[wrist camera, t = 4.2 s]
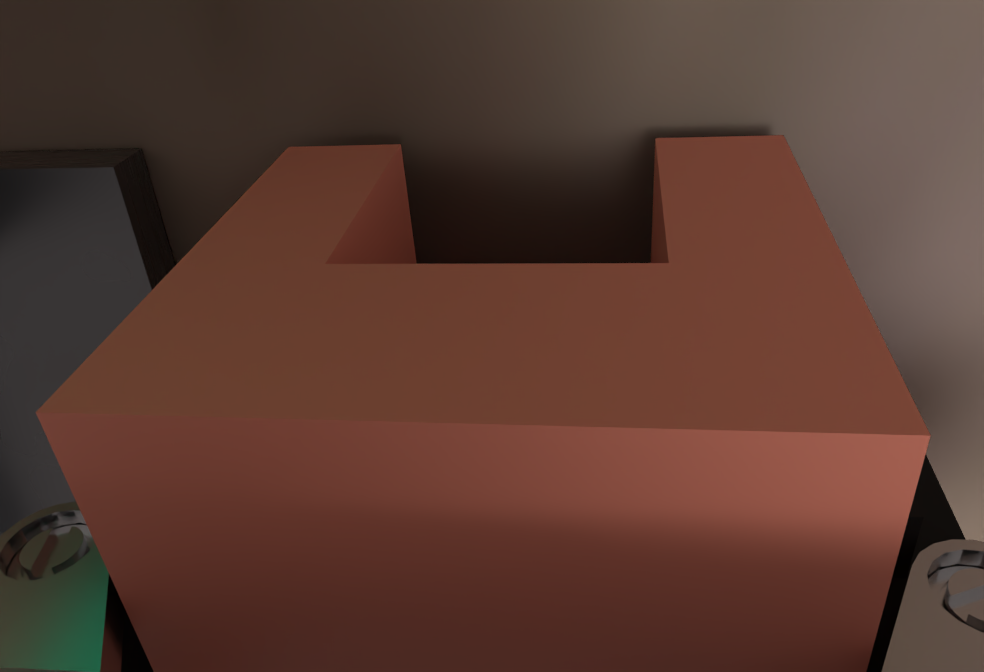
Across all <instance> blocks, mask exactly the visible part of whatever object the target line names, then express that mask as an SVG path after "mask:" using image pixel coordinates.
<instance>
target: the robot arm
mask: <svg viewBox="0 0 984 672" xmlns="http://www.w3.org/2000/svg"><path fill="white" fill-rule="evenodd" d="M0 672H154V671H153V669H152V667H151V665H150V662H149V660H148V658H147V656H146V654H145V651H144V649H143V647H142V645H141V643H140V640H139V638H138V636H137V634H136V632H135V630H134V627H133V625H132V623H131V621H130V619H129V616H128V614H127V612H126V610H125V608H124V605H123V603H122V601H121V599H120V597H119V594H118V592H117V590H116V588H115V586H114V583H113V581H112V579H111V577H110V575H109V572H108V570H107V568H106V566H105V564H104V561H103V559H102V557H101V555H100V553H99V551H98V548H97V546H96V544H95V542H94V540H93V537H92V535H91V533H90V531H89V529H88V526H87V524H86V522H85V520H84V518H83V515H82V513H81V511H80V509H79V507H78V504H77V502H69V503H63V504H57V505H54V506H51V507H48V508H45V509H42V510H39V511H37V512H35V513H33V514H31V515H29V516H27V517H26V518H24V519H22V520H20V521H18V522H17V523H16V524H15V525H13V526H12V527H11V528H9V529H8V530H7V531H5V532H4V533H3V534H2V535H1V536H0ZM866 672H984V542H981V541H977V540H965V537H964V535H963V533H962V531H961V529H960V527H959V525H958V522H957V520H956V518H955V516H954V514H953V512H952V510H951V507H950V505H949V503H948V501H947V499H946V497H945V495H944V492H943V490H942V488H941V486H940V484H939V482H938V480H937V477H936V475H935V473H934V471H933V469H932V467H931V465H930V462H929V460H928V458H927V456H926V455H925V458H924V462H923V466H922V469H921V473H920V477H919V480H918V484H917V488H916V491H915V495H914V499H913V502H912V506H911V510H910V513H909V517H908V521H907V524H906V528H905V532H904V535H903V539H902V543H901V546H900V550H899V554H898V557H897V561H896V565H895V568H894V572H893V576H892V579H891V583H890V587H889V590H888V594H887V598H886V601H885V605H884V609H883V612H882V616H881V620H880V623H879V627H878V631H877V634H876V638H875V642H874V645H873V649H872V653H871V657H870V660H869V664H868V668H867V671H866Z"/></svg>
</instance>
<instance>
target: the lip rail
mask: <svg viewBox="0 0 984 672" xmlns="http://www.w3.org/2000/svg"><path fill="white" fill-rule="evenodd" d="M174 267H175V263H174V260H173V256H172V253H171V250H170V246H169V243H168V239H167V236H166V232H165V229H164V226H163V222H162V219H161V215H160V212H159V209H158V205H157V202H156V198H155V195H154V191H153V188H152V185H151V181H150V178H149V174H148V171H147V167H146V164H145V161H144V157H143V154H142V150H141V149H105V150H60V151H15V152H0V536H1V535H2V534H3V533H4V532H5V531H7V530H8V529H9V528H11V527H12V526H13V525H15V524H16V523H17V522H18V521H20V520H22V519H24V518H26V517H27V516H29V515H31V514H33V513H35V512H37V511H39V510H42V509H45V508H48V507H51V506H54V505H57V504H63V503H69V502H76V500H75V498H74V496H73V493H72V491H71V489H70V487H69V485H68V482H67V480H66V478H65V476H64V474H63V472H62V469H61V467H60V465H59V463H58V461H57V458H56V456H55V454H54V452H53V450H52V447H51V445H50V443H49V441H48V439H47V436H46V434H45V432H44V430H43V428H42V425H41V423H40V421H39V419H38V417H37V414H36V411H37V410H38V409H39V408H40V407H41V406H42V405H43V404H44V403H45V402H46V401H47V400H48V399H49V398H50V397H51V396H52V395H53V394H54V393H55V392H56V390H57V389H58V388H59V387H60V386H61V385H62V384H63V383H64V382H65V381H66V380H67V379H68V378H69V377H70V376H71V375H72V374H73V373H74V372H75V371H76V369H77V368H78V367H79V366H80V365H81V364H82V363H83V362H84V361H85V360H86V359H87V358H88V357H89V356H90V355H91V354H92V353H93V352H94V351H95V350H96V348H97V347H98V346H99V345H100V344H101V343H102V342H103V341H104V340H105V339H106V338H107V337H108V336H109V335H110V334H111V333H112V332H113V331H114V330H115V329H116V327H117V326H118V325H119V324H120V323H121V322H122V321H123V320H124V319H125V318H126V317H127V316H128V315H129V314H130V313H131V312H132V311H133V310H134V309H135V308H136V307H137V305H138V304H139V303H140V302H141V301H142V300H143V299H144V298H145V297H146V296H147V295H148V294H149V293H150V292H151V291H152V290H153V289H154V288H155V287H156V286H157V284H158V283H159V282H160V281H161V280H162V279H163V278H164V277H165V276H166V275H167V274H168V273H169V272H170V271H171V270H172V269H173V268H174Z"/></svg>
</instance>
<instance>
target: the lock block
mask: <svg viewBox="0 0 984 672" xmlns="http://www.w3.org/2000/svg"><path fill="white" fill-rule="evenodd" d="M36 414H37V417H38V419H39V421H40V423H41V425H42V428H43V430H44V432H45V434H46V436H47V439H48V441H49V443H50V445H51V447H52V450H53V452H54V454H55V456H56V458H57V461H58V463H59V465H60V467H61V469H62V472H63V474H64V476H65V478H66V480H67V482H68V485H69V487H70V489H71V491H72V493H73V496H74V498H75V500H76V502H77V504H78V507H79V509H80V511H81V513H82V515H83V518H84V520H85V522H86V524H87V526H88V529H89V531H90V533H91V535H92V537H93V540H94V542H95V544H96V546H97V548H98V551H99V553H100V555H101V557H102V559H103V561H104V564H105V566H106V568H107V570H108V572H109V575H110V577H111V579H112V581H113V583H114V586H115V588H116V590H117V592H118V594H119V597H120V599H121V601H122V603H123V605H124V608H125V610H126V612H127V614H128V616H129V619H130V621H131V623H132V625H133V627H134V630H135V632H136V634H137V636H138V638H139V640H140V643H141V645H142V647H143V649H144V651H145V654H146V656H147V658H148V660H149V662H150V665H151V667H152V669H153V671H154V672H866V671H867V668H868V664H869V660H870V657H871V653H872V649H873V645H874V642H875V638H876V634H877V631H878V627H879V623H880V620H881V616H882V612H883V609H884V605H885V601H886V598H887V594H888V590H889V587H890V583H891V579H892V576H893V572H894V568H895V565H896V561H897V557H898V554H899V550H900V546H901V543H902V539H903V535H904V532H905V528H906V524H907V521H908V517H909V513H910V510H911V506H912V502H913V499H914V495H915V491H916V488H917V484H918V480H919V477H920V473H921V469H922V466H923V462H924V458H925V455H926V451H927V447H928V443H929V440H930V436H931V435H930V433H929V431H928V429H927V427H926V425H925V423H924V421H923V419H922V417H921V415H920V413H919V411H918V409H917V407H916V405H915V403H914V401H913V399H912V397H911V395H910V393H909V390H908V388H907V386H906V384H905V382H904V380H903V378H902V376H901V374H900V372H899V370H898V368H897V366H896V364H895V362H894V360H893V358H892V356H891V354H890V352H889V350H888V348H887V346H886V344H885V342H884V339H883V337H882V335H881V333H880V331H879V329H878V327H877V325H876V323H875V321H874V319H873V317H872V315H871V313H870V311H869V309H868V307H867V305H866V303H865V301H864V299H863V297H862V295H861V293H860V291H859V288H858V286H857V284H856V282H855V280H854V278H853V276H852V274H851V272H850V270H849V268H848V266H847V264H846V262H845V260H844V258H843V256H842V254H841V252H840V250H839V248H838V246H837V244H836V242H835V239H834V237H833V235H832V233H831V231H830V229H829V227H828V225H827V223H826V221H825V219H824V217H823V215H822V213H821V211H820V209H819V207H818V205H817V203H816V201H815V199H814V197H813V195H812V193H811V191H810V188H809V186H808V184H807V182H806V180H805V178H804V176H803V174H802V172H801V170H800V168H799V166H798V164H797V162H796V160H795V158H794V156H793V154H792V152H791V150H790V148H789V146H788V144H787V142H786V140H785V137H784V135H768V136H726V137H684V138H655V162H654V190H653V217H652V244H651V263H526V264H417V263H416V255H415V247H414V240H413V232H412V225H411V217H410V210H409V202H408V194H407V187H406V179H405V172H404V164H403V157H402V149H401V144H388V145H346V146H304V147H288V148H287V149H286V150H285V151H284V152H283V153H282V154H281V155H280V156H279V157H278V159H277V160H276V161H275V162H274V163H273V164H272V165H271V166H270V167H269V168H268V169H267V170H266V171H265V172H264V173H263V174H262V175H261V176H260V177H259V178H258V180H257V181H256V182H255V183H254V184H253V185H252V186H251V187H250V188H249V189H248V190H247V191H246V192H245V193H244V194H243V195H242V196H241V197H240V198H239V199H238V200H237V202H236V203H235V204H234V205H233V206H232V207H231V208H230V209H229V210H228V211H227V212H226V213H225V214H224V215H223V216H222V217H221V218H220V219H219V220H218V221H217V223H216V224H215V225H214V226H213V227H212V228H211V229H210V230H209V231H208V232H207V233H206V234H205V235H204V236H203V237H202V238H201V239H200V240H199V241H198V242H197V244H196V245H195V246H194V247H193V248H192V249H191V250H190V251H189V252H188V253H187V254H186V255H185V256H184V257H183V258H182V259H181V260H180V261H179V262H178V263H177V265H176V266H175V267H174V268H173V269H172V270H171V271H170V272H169V273H168V274H167V275H166V276H165V277H164V278H163V279H162V280H161V281H160V282H159V283H158V284H157V286H156V287H155V288H154V289H153V290H152V291H151V292H150V293H149V294H148V295H147V296H146V297H145V298H144V299H143V300H142V301H141V302H140V303H139V304H138V305H137V307H136V308H135V309H134V310H133V311H132V312H131V313H130V314H129V315H128V316H127V317H126V318H125V319H124V320H123V321H122V322H121V323H120V324H119V325H118V326H117V327H116V329H115V330H114V331H113V332H112V333H111V334H110V335H109V336H108V337H107V338H106V339H105V340H104V341H103V342H102V343H101V344H100V345H99V346H98V347H97V348H96V350H95V351H94V352H93V353H92V354H91V355H90V356H89V357H88V358H87V359H86V360H85V361H84V362H83V363H82V364H81V365H80V366H79V367H78V368H77V369H76V371H75V372H74V373H73V374H72V375H71V376H70V377H69V378H68V379H67V380H66V381H65V382H64V383H63V384H62V385H61V386H60V387H59V388H58V389H57V390H56V392H55V393H54V394H53V395H52V396H51V397H50V398H49V399H48V400H47V401H46V402H45V403H44V404H43V405H42V406H41V407H40V408H39V409H38V410H37V411H36Z"/></svg>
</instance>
